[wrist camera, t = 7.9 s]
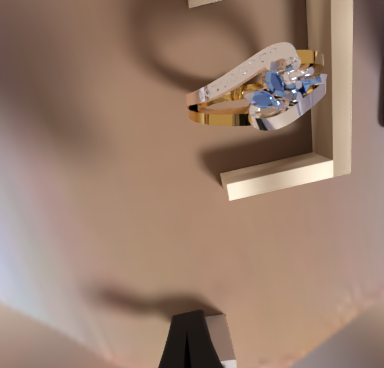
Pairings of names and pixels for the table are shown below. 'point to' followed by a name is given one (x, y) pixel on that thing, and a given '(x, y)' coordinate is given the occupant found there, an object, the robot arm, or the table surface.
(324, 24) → the keeper
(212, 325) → the lighter
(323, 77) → the ring
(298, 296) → the table surface
